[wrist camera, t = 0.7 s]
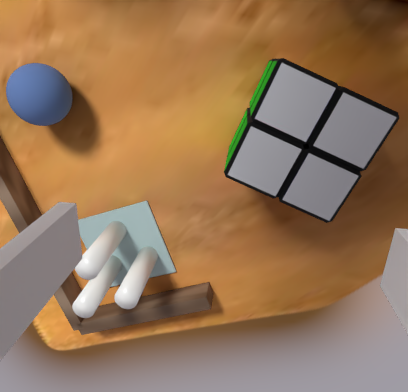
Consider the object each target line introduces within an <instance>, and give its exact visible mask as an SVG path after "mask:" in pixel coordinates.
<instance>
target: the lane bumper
mask: <svg viewBox="0 0 408 392" xmlns="http://www.w3.org/2000/svg"><path fill="white" fill-rule="evenodd" d="M0 199H1V201H2V203H3V204H4V206H5V208H6V210H7V212H8V213H9V215H10V217H11V219H12V221H13V222H14V224H15V226H16V228H17V230H18V231H19V233H21V232H22V231H23V230H24V229H26V228H27V227H28V226H29V225H31V224H32V223H33V222H34V221H36V220H37V219H38V218H39V217H41V216H42V215H41V213H40V211H39V209H38V207H37V205H36V203H35V202H34V200H33V198H32V196H31V194H30V192H29V190H28V188H27V186H26V184H25V183H24V181H23V179H22V177H21V175H20V173H19V171H18V169H17V167H16V165H15V163H14V162H13V160H12V158H11V156H10V154H9V152H8V150H7V148H6V146H5V144H4V143H3V141H2V139H1V137H0ZM81 292H82V291H81V289H80V287H79V285H78V283H77V281H76V280H75V278H74V276H73V274H72V272H71V273H70V275H69V276H68V277H67V278H66V280H65V281H64V282H63V283H62V285H61V286H60V287H59V288H58V290H57V291H56V292H55V293H54V296H55V298H56V300H57V301H58V303H59V305H60V307H61V308H62V310H63V312H64V314H65V316H66V317H67V319H68V321H69V323H70V325H71V326H72V328H73V330H79V331H80V333H81V335H84V334H89V333H94V332H99V331H104V330H109V329H114V328H119V327H124V326H129V325H134V324H139V323H144V322H149V321H154V320H159V319H164V318H169V317H174V316H179V315H184V314H189V313H194V312H199V311H204V310H209V309H211V306H212V299H213V292H212V289H211V286H210V284H209V282H207V283H202V284H198V285H193V286H189V287H184V288H180V289H175V290H170V291H166V292H161V293H157V294H152V295H147V296H143V297H140V298H139V301H138V303H137V305H136V306H135V307H134V308H132V309H124V308H121V307H120V306H119V305H117V303H116V302H115V303H111V304H106V305H102V306H98V308H97V309H96V311H95V313H94V314H93V316H91V317H89V318H82V317H79V316H78V315H76V314H75V312H74V311H73V308H72V305H73V303H74V301H75V300H76V299H77V297H78V296H79V294H80V293H81Z"/></svg>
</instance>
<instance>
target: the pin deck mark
mask: <svg viewBox="0 0 408 392" xmlns="http://www.w3.org/2000/svg"><path fill="white" fill-rule="evenodd" d="M112 221H120V222H122V223H123V224H124V225H125V226H126V229H127V233H126V235H125V237H124V238H123V240H122V241H121V242H120V244H119V245H118V247H117V248H116V250H115V251H114V252H113V254H112V255H113V256H117V257H118V258H119V259H120V260H121V261H122V268H121V270H120V271H119V273H118V275H117V276H116V278H115V280H114V281H113V283H112V285H111V286H110V287H112V286H117V285H121V283H122V282H123V280H124V278H125V276H126V275H127V273H128V271H129V269H130V267H131V266H132V264H133V262H134V260H135V259H136V257H137V255H138V253H139V251H140V250H141V249H142V248H143V247H146V246H149V247H152V248H154V249H155V250H156V251H157V253H158V259H157V261H156V263H155V265H154V268H153V270H152V272H151V274H150V276H149V278H151V277H156V276H160V275H164V274H169V273H173V272H176V269H175V267H174V264H173V262H172V259H171V257H170V254H169V252H168V250H167V247H166V245H165V242H164V240H163V238H162V235H161V233H160V230H159V228H158V225H157V223H156V221H155V218H154V216H153V213H152V211H151V209H150V206H149V204H148V201H143V202H140V203H136V204H133V205H129V206H126V207H122V208H119V209H115V210H112V211H108V212H105V213H101V214H98V215H94V216H91V217H87V218H83V219H80V220H78V224H79V232H80V236H81V238H82V240H83V242H84V244H85V246H86V248H87V250H88V249H89V247H90V246H91V245H92V244H93V243H94V241H95V240H96V239H97V238H98V237H99V235H100V234H101V233H102V232H103V231H104V230H105V228H106V227H107V226H108V225H109V224H110V223H111V222H112Z"/></svg>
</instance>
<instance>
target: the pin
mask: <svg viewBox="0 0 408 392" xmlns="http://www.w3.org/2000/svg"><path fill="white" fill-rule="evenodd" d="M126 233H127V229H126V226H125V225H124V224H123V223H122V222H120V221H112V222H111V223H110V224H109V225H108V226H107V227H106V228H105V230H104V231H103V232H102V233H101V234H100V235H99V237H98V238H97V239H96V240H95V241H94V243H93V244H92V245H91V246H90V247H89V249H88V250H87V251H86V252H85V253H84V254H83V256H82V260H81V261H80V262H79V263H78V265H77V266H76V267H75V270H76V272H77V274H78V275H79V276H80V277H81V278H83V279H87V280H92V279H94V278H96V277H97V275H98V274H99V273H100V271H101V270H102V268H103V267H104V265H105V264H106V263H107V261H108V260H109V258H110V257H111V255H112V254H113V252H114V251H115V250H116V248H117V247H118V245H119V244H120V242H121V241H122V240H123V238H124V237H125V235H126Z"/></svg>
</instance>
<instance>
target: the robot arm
mask: <svg viewBox="0 0 408 392" xmlns="http://www.w3.org/2000/svg"><path fill="white" fill-rule="evenodd" d="M81 260H82V250H81V241H80V232H79V224H78V215H77V207H76V203H66V202H58V203H57V204H56V205H55V206H53V207H52V208H51V209H50V210H48V211H47V212H46V213H45V214H43V215H42V216H41V217H39V218H38V219H37V220H36V221H34V222H33V223H32V224H31V225H29V226H28V227H27V228H26V229H24V230H23V231H22V232H21V233H19V234H18V235H17V236H15V237H14V238H13V239H12V240H10V241H9V242H8V243H7V244H5V245H4V246H3V247H2V248H0V360H2V358H3V357H4V356H5V355H6V353H7V352H8V351H9V350H10V348H11V347H12V346H13V345H14V343H15V342H16V341H17V340H18V338H19V337H20V336H21V335H22V333H23V332H24V331H25V330H26V328H27V327H28V326H29V325H30V323H31V322H32V321H33V320H34V318H35V317H36V316H37V315H38V313H39V312H40V311H41V310H42V308H43V307H44V306H45V305H46V303H47V302H48V301H49V300H50V298H51V297H52V296H53V295H54V293H55V292H56V291H57V290H58V288H59V287H60V286H61V285H62V283H63V282H64V281H65V280H66V278H67V277H68V276H69V275H70V273H71V272H72V271H73V270H74V268H75V267H76V266H77V265H78V263H79V262H80V261H81ZM380 287H381V289H382V290H383V292H384V294H385V296H386V297H387V299H388V301H389V303H390V304H391V306H392V308H393V310H394V311H395V313H396V315H397V317H398V318H399V320H400V322H401V324H402V325H403V327H404V329H405V331H406V332H407V334H408V229H401V228H395V232H394V235H393V239H392V243H391V246H390V250H389V254H388V258H387V261H386V265H385V269H384V272H383V276H382V280H381V283H380Z"/></svg>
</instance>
